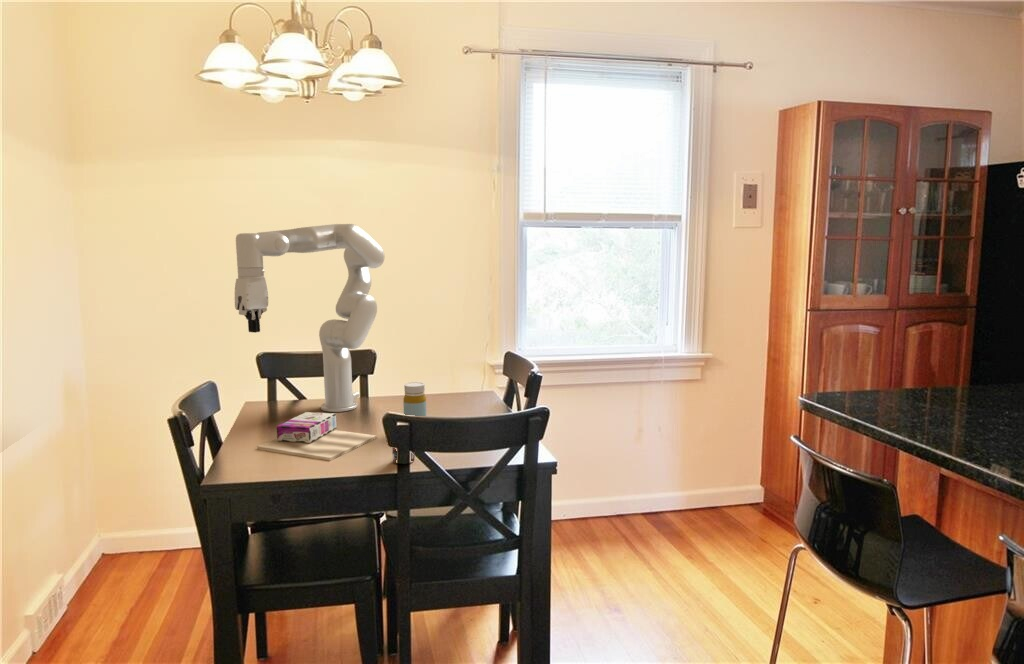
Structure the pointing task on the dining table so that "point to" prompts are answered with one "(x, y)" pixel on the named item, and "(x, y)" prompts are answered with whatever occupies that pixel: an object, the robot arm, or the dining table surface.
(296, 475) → the dining table surface
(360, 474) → the dining table surface
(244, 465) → the dining table surface
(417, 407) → the bottle
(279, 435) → the candy bar box
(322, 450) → the birch board
